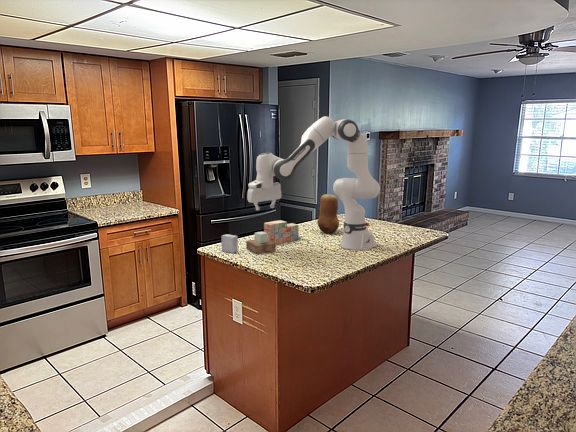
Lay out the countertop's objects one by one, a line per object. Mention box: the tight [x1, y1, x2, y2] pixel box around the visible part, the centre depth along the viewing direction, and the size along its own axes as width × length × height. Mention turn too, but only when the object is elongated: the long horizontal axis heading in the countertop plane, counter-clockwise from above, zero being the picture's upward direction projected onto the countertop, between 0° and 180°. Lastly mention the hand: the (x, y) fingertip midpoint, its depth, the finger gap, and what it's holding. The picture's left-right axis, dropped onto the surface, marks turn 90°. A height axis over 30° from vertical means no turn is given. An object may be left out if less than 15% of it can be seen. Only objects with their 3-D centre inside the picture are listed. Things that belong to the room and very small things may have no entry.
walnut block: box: [245, 239, 277, 255], centre depth 230 cm, size 12×12×5 cm
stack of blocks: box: [263, 219, 300, 245], centre depth 249 cm, size 21×6×12 cm, turn 129°
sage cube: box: [254, 231, 268, 243], centre depth 229 cm, size 5×5×5 cm
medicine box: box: [220, 234, 239, 254], centre depth 227 cm, size 8×4×9 cm, turn 59°
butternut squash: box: [317, 193, 340, 235], centre depth 270 cm, size 14×13×25 cm
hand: (265, 208), depth 226 cm, fingers open, 8 cm apart
